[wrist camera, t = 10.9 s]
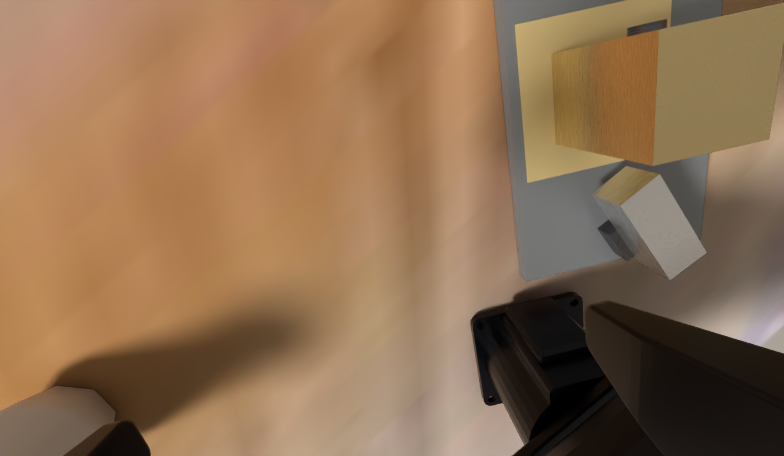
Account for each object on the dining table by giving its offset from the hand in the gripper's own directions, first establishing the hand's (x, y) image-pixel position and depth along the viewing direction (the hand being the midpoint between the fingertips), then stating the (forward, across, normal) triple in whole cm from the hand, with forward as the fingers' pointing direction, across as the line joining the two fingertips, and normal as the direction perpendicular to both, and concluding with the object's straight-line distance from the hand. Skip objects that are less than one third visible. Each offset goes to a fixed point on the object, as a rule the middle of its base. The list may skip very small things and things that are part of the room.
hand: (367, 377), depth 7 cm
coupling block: (+11, -12, -3) cm, 17 cm away
